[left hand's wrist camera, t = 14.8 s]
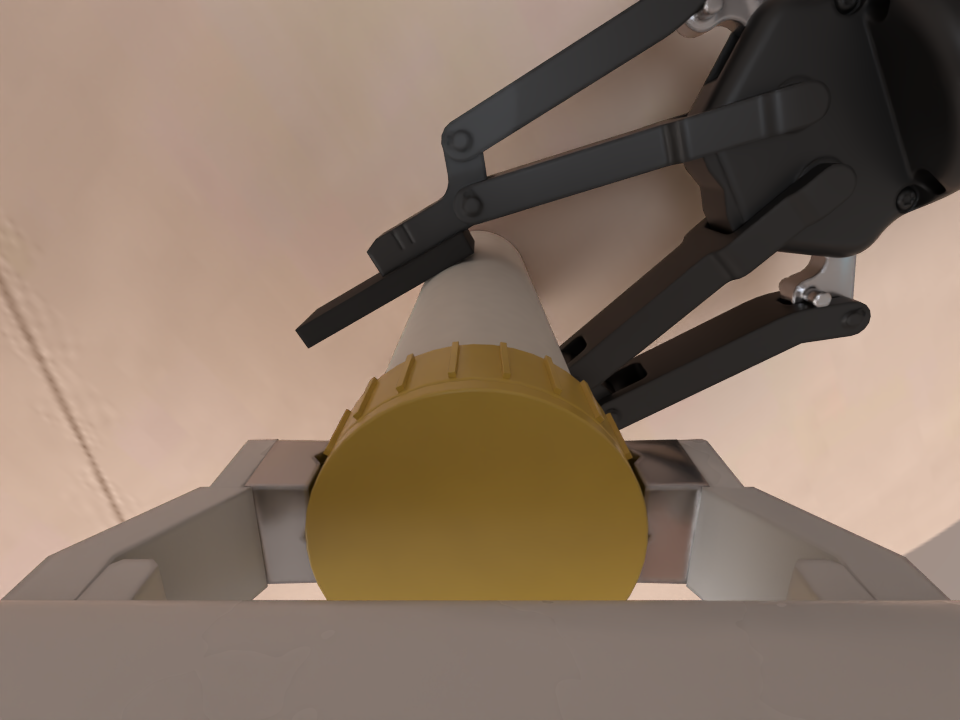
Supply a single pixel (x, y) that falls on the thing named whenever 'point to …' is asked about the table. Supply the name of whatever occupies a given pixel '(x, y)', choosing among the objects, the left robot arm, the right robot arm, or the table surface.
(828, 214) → the right robot arm
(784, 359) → the table surface
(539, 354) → the grey cylinder
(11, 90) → the table surface
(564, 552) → the lid
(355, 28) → the table surface
